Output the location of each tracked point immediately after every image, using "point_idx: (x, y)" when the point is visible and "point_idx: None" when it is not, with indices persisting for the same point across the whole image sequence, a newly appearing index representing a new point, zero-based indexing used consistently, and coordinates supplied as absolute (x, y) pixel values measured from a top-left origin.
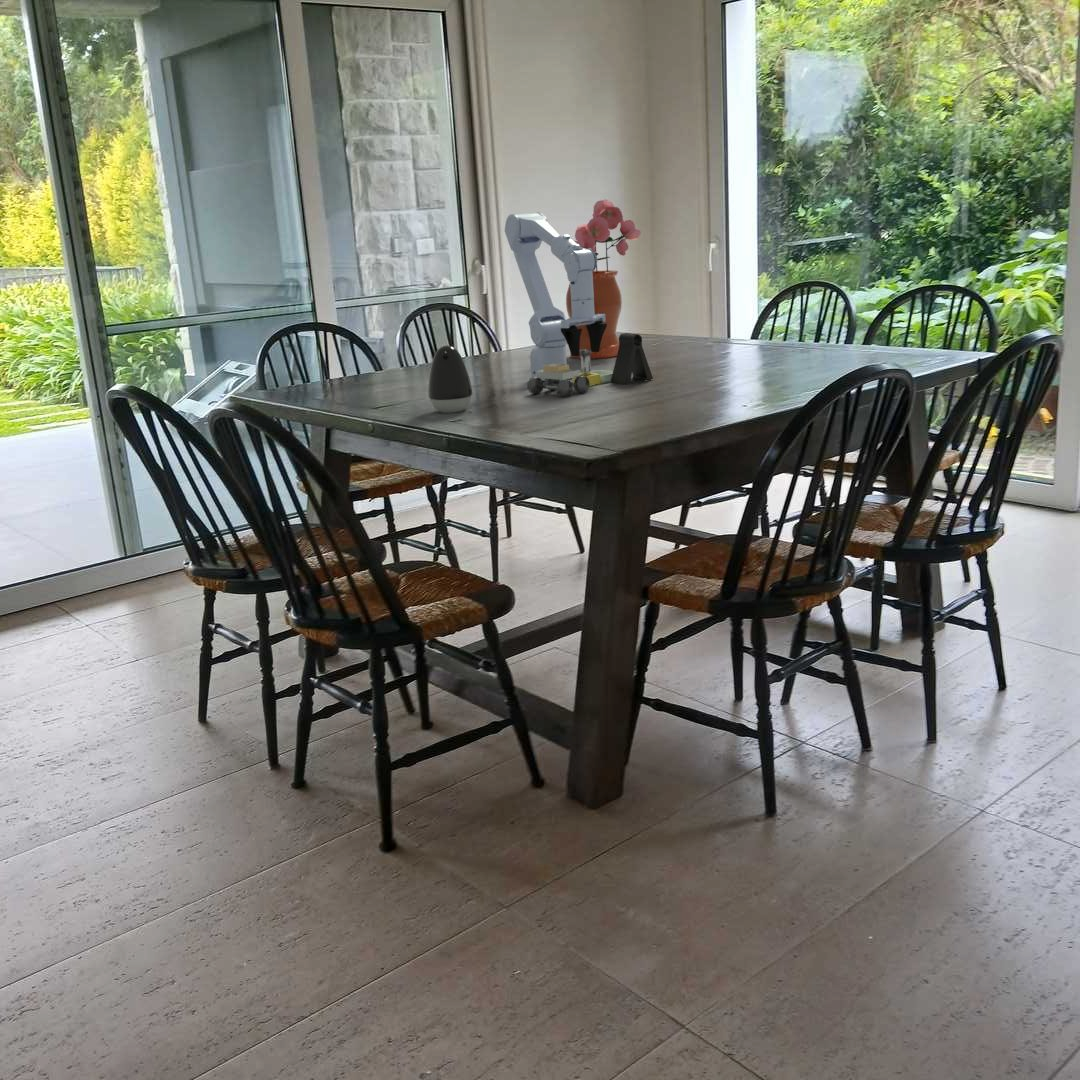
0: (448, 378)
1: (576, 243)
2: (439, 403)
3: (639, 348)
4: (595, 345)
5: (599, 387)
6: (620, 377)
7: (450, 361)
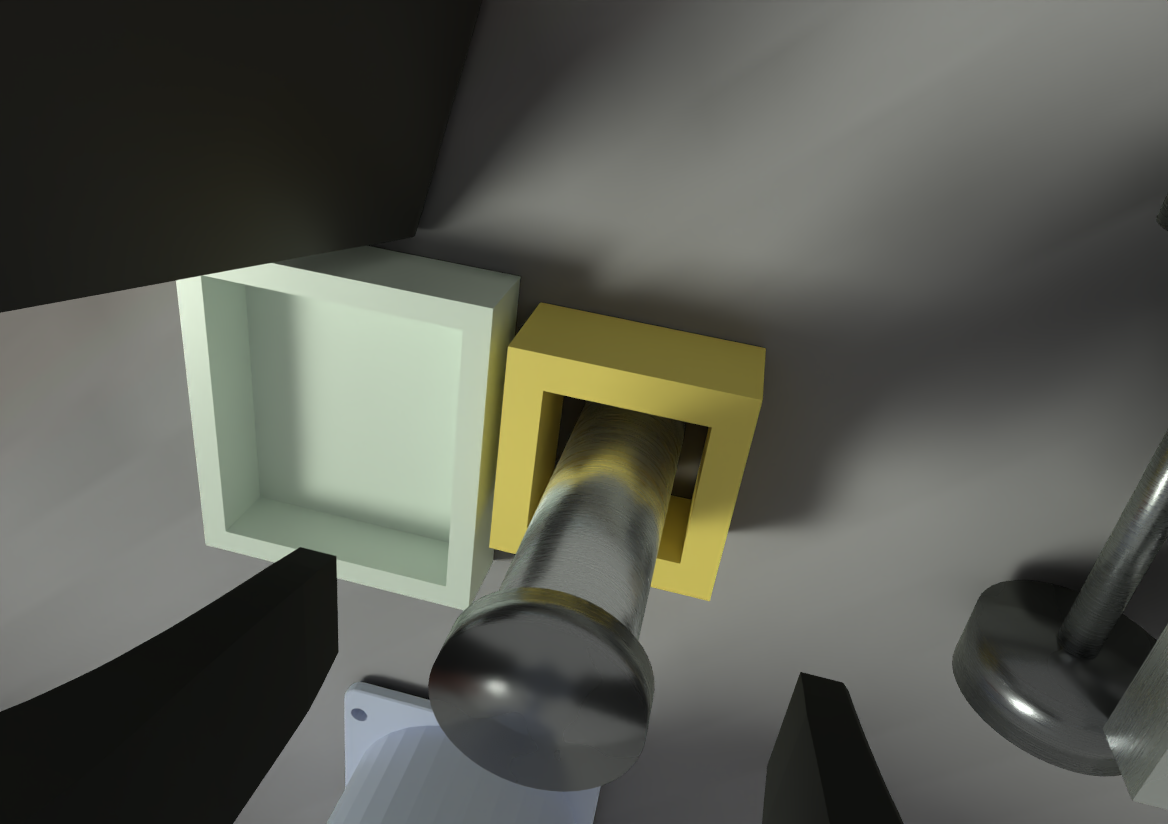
0: None
1: None
2: None
3: None
4: (278, 661)
5: (786, 173)
6: (420, 63)
7: None
